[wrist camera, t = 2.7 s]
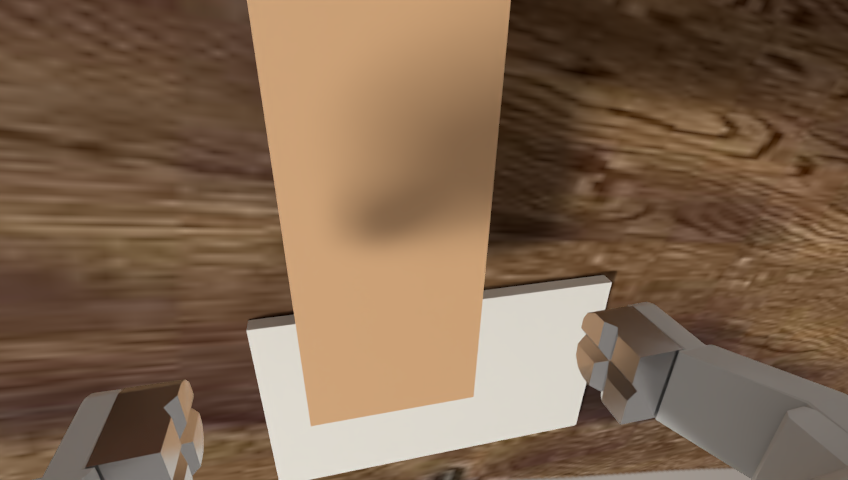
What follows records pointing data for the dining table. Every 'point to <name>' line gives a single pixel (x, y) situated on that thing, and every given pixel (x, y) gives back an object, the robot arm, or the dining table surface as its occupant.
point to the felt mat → (449, 421)
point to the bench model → (383, 189)
